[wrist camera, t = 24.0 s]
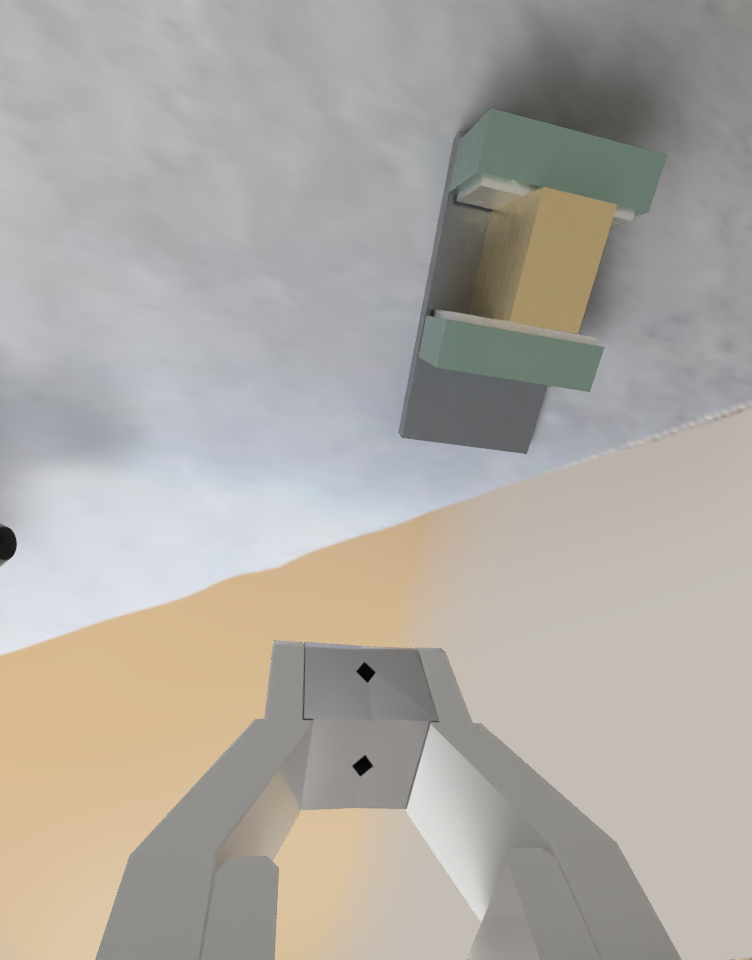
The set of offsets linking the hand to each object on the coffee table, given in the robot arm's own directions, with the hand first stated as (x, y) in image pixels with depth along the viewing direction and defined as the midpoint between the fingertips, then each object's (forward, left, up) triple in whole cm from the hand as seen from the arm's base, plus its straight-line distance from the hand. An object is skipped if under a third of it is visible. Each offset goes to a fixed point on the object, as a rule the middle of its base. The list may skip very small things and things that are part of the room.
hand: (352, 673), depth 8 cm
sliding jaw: (-5, +12, -29) cm, 32 cm away
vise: (-7, +12, -31) cm, 34 cm away
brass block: (-10, +12, -30) cm, 34 cm away
